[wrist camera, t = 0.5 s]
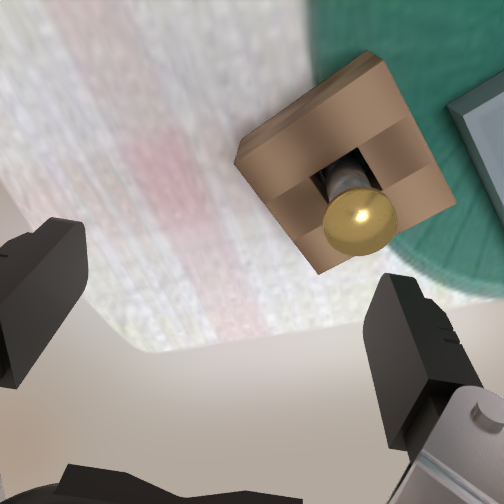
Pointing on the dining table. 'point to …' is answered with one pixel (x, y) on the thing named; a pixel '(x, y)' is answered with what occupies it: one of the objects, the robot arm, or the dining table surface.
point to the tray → (484, 134)
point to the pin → (356, 209)
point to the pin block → (337, 145)
